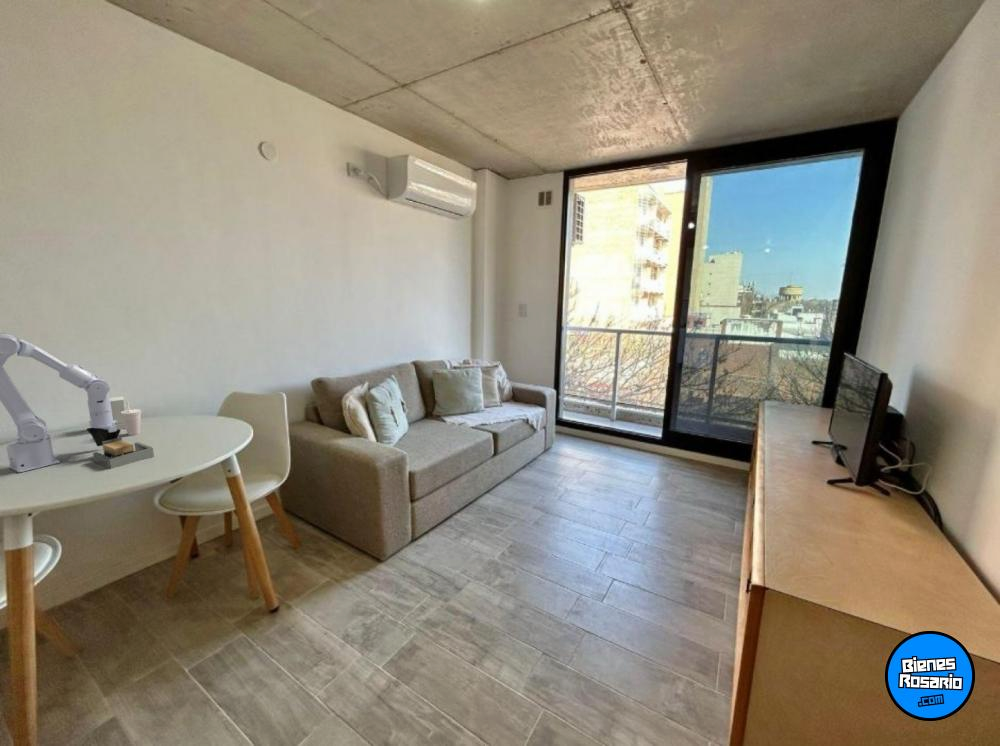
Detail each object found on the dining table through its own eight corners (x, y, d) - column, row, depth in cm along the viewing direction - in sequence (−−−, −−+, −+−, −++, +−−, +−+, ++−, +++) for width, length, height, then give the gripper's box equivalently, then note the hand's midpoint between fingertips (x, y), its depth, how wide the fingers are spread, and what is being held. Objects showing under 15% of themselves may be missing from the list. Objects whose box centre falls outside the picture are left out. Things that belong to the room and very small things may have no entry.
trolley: (114, 461, 140) (112, 446, 138) (102, 457, 143) (100, 442, 142) (136, 455, 145) (134, 441, 144) (124, 451, 149) (122, 436, 147)
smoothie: (120, 434, 165) (115, 401, 162) (140, 430, 170) (135, 398, 168) (127, 437, 162) (123, 403, 159) (147, 433, 168) (143, 400, 165)
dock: (110, 468, 134) (108, 459, 134) (94, 461, 139) (92, 453, 138) (154, 456, 145) (153, 447, 145) (138, 450, 150) (137, 442, 149)
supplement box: (127, 428, 172) (123, 399, 170) (103, 431, 167) (99, 402, 165) (127, 423, 178) (123, 396, 175) (103, 427, 173) (99, 398, 170)
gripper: (125, 412, 146) (130, 447, 148) (105, 406, 152) (110, 440, 154) (99, 416, 139) (105, 453, 142) (79, 410, 145) (85, 446, 148)
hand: (106, 447), depth 148 cm, fingers open, 6 cm apart
